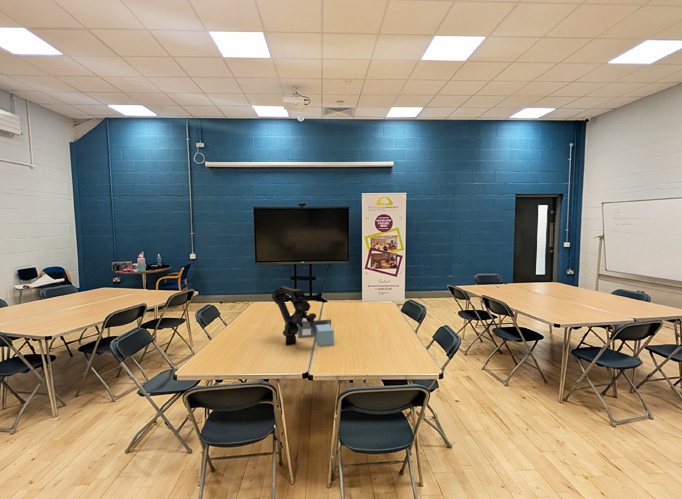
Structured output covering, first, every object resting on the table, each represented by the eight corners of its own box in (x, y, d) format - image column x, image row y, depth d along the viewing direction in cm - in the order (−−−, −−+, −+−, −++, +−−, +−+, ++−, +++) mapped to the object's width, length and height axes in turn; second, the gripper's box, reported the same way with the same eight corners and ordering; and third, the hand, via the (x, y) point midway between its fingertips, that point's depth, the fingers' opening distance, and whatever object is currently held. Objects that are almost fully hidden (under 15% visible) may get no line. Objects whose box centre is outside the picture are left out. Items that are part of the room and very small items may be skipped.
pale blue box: (318, 346, 207) (318, 331, 206) (316, 339, 220) (315, 325, 220) (333, 345, 209) (333, 330, 208) (329, 337, 222) (329, 324, 222)
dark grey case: (300, 348, 204) (300, 330, 203) (297, 336, 228) (297, 320, 227) (345, 344, 210) (345, 327, 210) (337, 333, 234) (337, 317, 234)
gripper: (281, 314, 205) (290, 334, 209) (302, 315, 194) (311, 336, 199) (291, 305, 213) (299, 323, 218) (312, 305, 202) (320, 325, 207)
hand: (307, 327), depth 210 cm, fingers open, 9 cm apart
